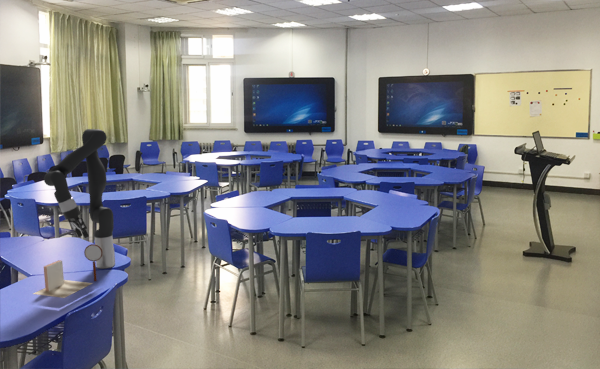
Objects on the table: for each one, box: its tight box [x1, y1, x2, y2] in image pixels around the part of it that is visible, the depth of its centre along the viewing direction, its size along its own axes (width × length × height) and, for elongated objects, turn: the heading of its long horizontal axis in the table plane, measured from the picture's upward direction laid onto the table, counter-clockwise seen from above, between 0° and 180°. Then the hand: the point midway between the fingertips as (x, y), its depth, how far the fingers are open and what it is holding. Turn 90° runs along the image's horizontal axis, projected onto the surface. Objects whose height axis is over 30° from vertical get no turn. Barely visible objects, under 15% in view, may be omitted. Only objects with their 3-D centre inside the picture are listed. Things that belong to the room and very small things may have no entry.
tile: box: [43, 259, 65, 291], centre depth 252 cm, size 10×2×12 cm, turn 164°
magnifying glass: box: [83, 243, 102, 282], centre depth 260 cm, size 9×2×20 cm, turn 95°
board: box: [32, 279, 94, 299], centre depth 252 cm, size 20×18×1 cm
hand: (83, 236), depth 265 cm, fingers open, 8 cm apart
